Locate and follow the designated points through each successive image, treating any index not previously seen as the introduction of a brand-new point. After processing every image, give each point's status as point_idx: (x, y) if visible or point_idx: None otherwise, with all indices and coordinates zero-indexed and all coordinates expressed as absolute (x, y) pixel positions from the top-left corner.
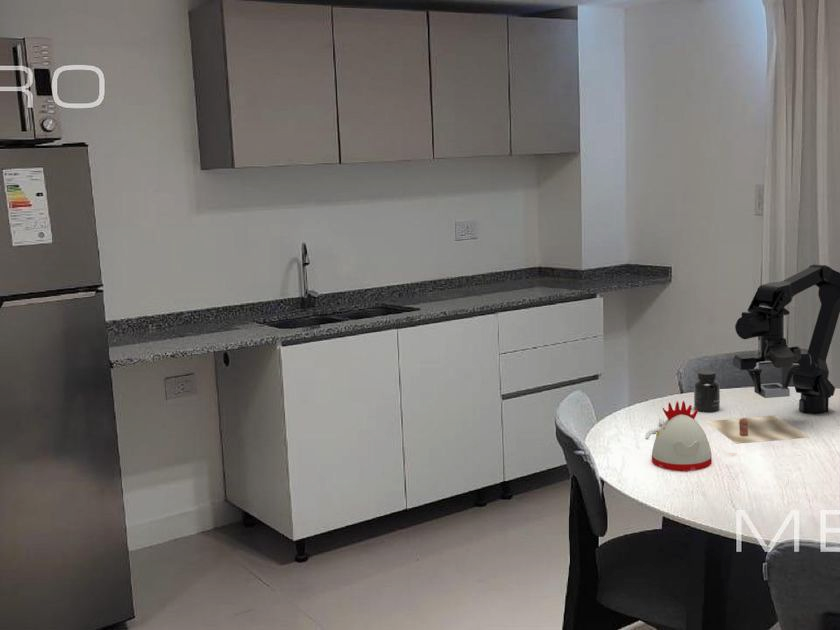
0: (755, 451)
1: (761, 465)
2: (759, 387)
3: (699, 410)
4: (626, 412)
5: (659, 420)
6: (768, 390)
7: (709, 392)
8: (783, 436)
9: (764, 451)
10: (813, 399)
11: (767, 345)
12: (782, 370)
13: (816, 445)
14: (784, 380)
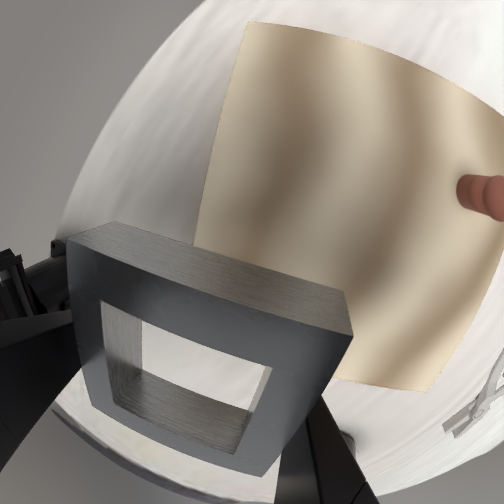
0: (478, 78)
1: (496, 11)
2: (322, 428)
3: (355, 455)
4: (422, 479)
5: (469, 428)
6: (308, 323)
7: None
8: (346, 70)
9: (456, 58)
10: (40, 286)
11: None
12: (13, 438)
13: (253, 8)
14: (43, 366)
